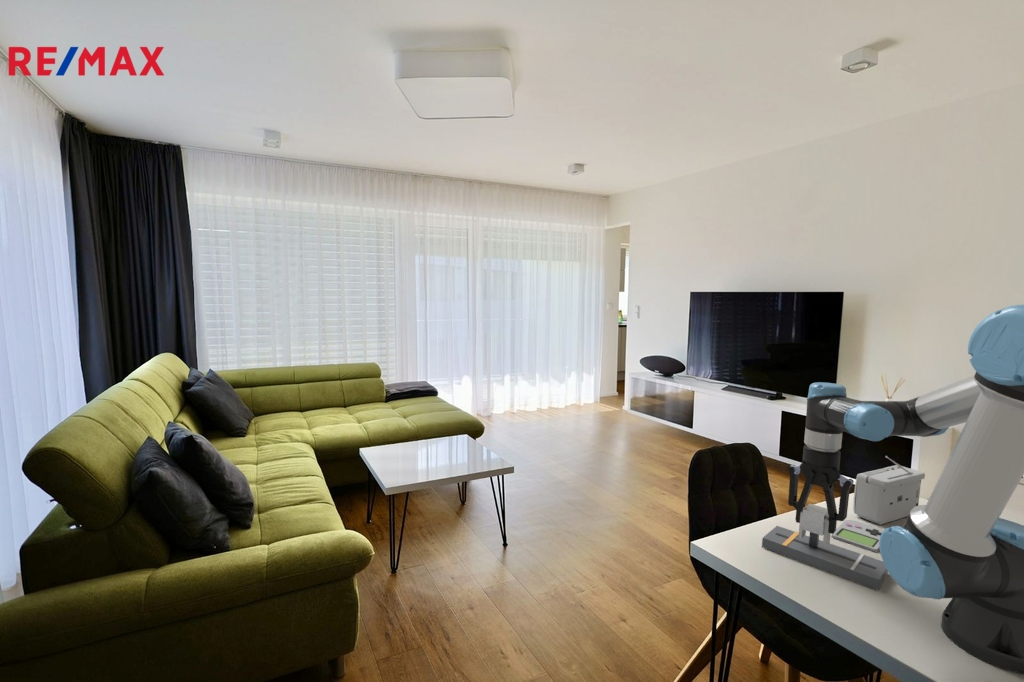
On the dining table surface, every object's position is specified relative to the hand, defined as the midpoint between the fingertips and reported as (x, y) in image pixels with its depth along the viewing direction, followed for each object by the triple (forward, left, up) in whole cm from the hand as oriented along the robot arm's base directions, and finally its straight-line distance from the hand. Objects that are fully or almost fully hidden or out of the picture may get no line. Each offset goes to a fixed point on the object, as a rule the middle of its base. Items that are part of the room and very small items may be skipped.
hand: (813, 540), depth 119 cm
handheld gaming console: (+8, -21, -5) cm, 23 cm away
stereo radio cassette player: (+19, -40, -4) cm, 44 cm away
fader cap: (0, 0, -1) cm, 1 cm away
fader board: (-2, -1, -4) cm, 5 cm away
